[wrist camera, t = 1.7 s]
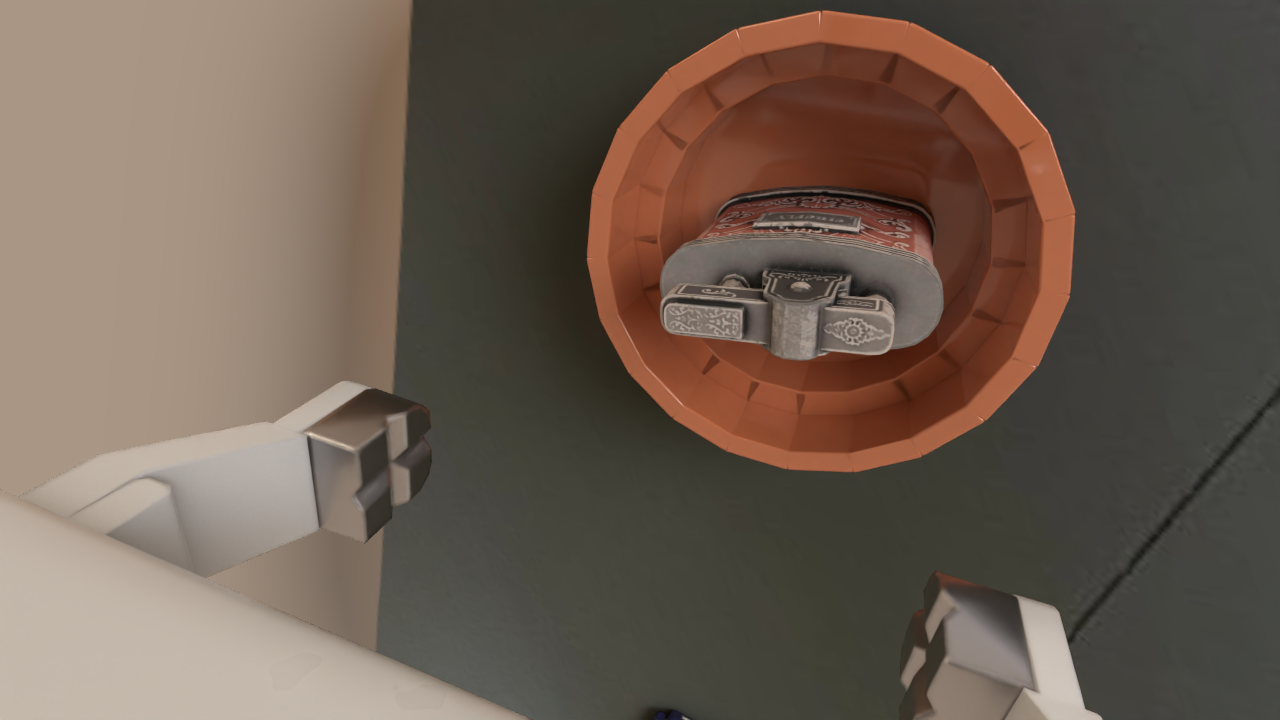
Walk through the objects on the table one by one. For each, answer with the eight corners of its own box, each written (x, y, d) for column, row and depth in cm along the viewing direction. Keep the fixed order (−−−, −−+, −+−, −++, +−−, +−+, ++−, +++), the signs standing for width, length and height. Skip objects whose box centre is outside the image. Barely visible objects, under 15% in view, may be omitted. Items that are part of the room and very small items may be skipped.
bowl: (1115, 48, 21) (1180, 56, 16) (956, 434, 28) (966, 524, 23) (670, -10, 25) (608, -18, 20) (627, 344, 32) (573, 405, 27)
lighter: (942, 188, 24) (958, 278, 15) (928, 279, 25) (936, 408, 17) (718, 181, 26) (627, 256, 18) (717, 265, 28) (633, 370, 19)
